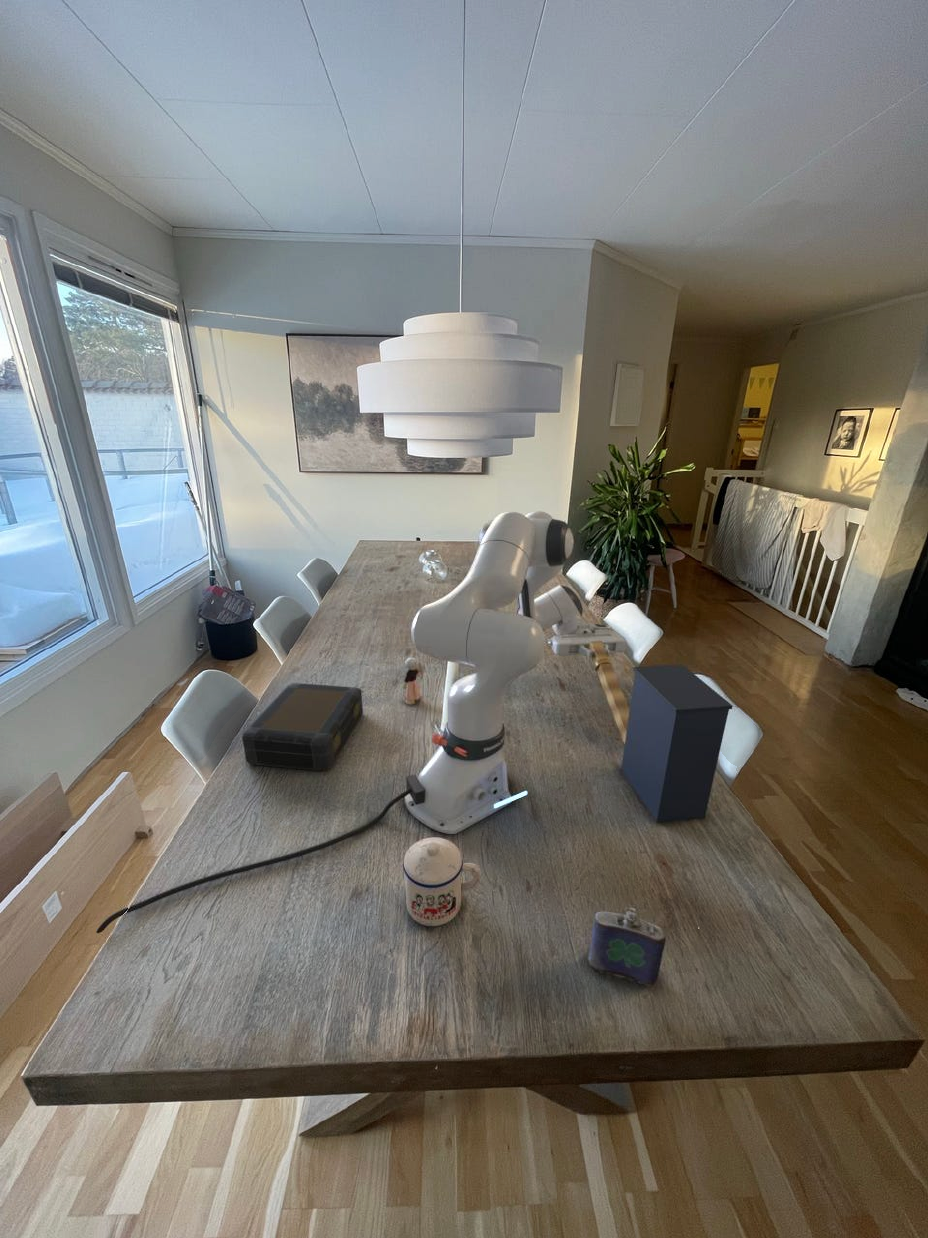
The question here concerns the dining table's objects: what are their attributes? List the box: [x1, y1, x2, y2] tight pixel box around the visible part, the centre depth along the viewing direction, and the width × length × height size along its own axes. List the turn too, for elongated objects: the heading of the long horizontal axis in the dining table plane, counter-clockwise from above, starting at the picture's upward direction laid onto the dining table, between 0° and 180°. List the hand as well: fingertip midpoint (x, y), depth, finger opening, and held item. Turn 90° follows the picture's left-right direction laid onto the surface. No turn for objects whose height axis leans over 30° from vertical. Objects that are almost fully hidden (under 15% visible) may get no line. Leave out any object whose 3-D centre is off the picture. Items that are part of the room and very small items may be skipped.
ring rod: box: [588, 641, 630, 745], centre depth 128 cm, size 29×4×4 cm, turn 9°
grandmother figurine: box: [402, 657, 421, 706], centre depth 138 cm, size 8×4×13 cm, turn 168°
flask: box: [587, 906, 667, 987], centre depth 70 cm, size 9×3×11 cm, turn 72°
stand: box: [620, 663, 733, 823], centre depth 101 cm, size 17×11×25 cm, turn 8°
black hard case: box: [241, 682, 364, 772], centre depth 122 cm, size 25×20×8 cm
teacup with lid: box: [402, 836, 482, 927], centre depth 79 cm, size 12×9×12 cm
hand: (599, 654), depth 135 cm, fingers closed on ring rod, 3 cm apart
